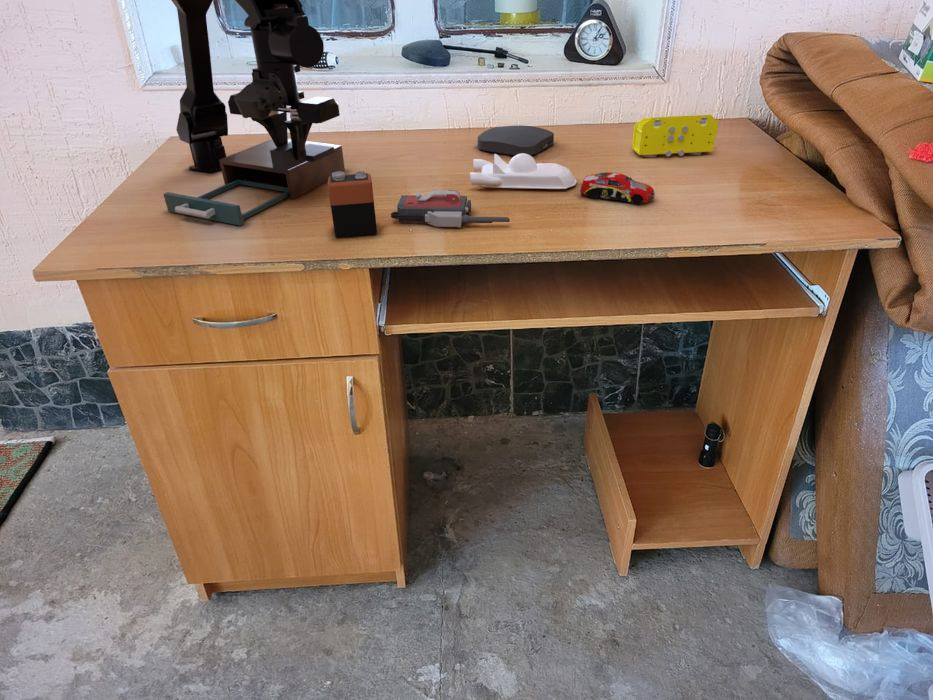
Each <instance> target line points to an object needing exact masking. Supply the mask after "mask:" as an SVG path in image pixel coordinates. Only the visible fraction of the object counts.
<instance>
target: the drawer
mask: <svg viewBox="0 0 933 700" xmlns="http://www.w3.org/2000/svg"><path fill="white" fill-rule="evenodd" d="M238 185H242V186H248V187H254V188H260V189H266V190H273V191H277V192H283V193H281V194H279V195H277V196H275V197H273V198H271V199H269V200H267V201H265V202H263V203H261V204H259V205H257V206H255V207H253V208H251V209H250V210H248V211H245V212H243V213H242V210H241V205H240V204H237V203H236V204H234V203H230V202H226V201H225V202H223V201H219V200H213V199H209V198H213V197H214V196H217V195H219V194H221V193H223V192H225V191H228V190H230V189H232V188H234V187H236V186H238ZM163 198H164V201H165V205H166V208H167V211H168V212H170V213H175V214H180V215H184V216H189V217H193V218H200V219H204V220H209V221H215V222H220V223H224V224H229V225H235V226H241V225H243V224H244V223H245V222H244V220H246V219H249V218H250V217H252V216H254V215H256V214H258V213H259V212H261V211H263V210H266V209H267V208H269V207H272V206H273V205H275V204H277V203H279V202H281V201H283V200H285V199H287V198H290V195H289V189H288V186H283V185H277V184H270V183H264V182H258V181H252V180H248V179H247V180H240V179H238V180H235V181H233V182H231V183H229V184H226V185H225V184H224V185H222V186H219V187H217V188H215V189H213V190H211V191H208V192H206V193H204V194H202V195H199V196H197V197H196V196H192V195H185V194H181V193H175V192H169V191H167V192H164V193H163Z"/></svg>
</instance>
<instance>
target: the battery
mask: <svg viewBox="0 0 933 700" xmlns="http://www.w3.org/2000/svg"><path fill="white" fill-rule="evenodd" d="M345 173H346V171H345V172H339V171H338V172H334V173H332V176H329V177H328V181H327V189H328V199H329V204H330V211H331V217H332V225H333V231H334V237H335V238H336V239H346V238H356V237H357V238H358V237H369V236H376V235H377V234H378V228H377V227H378V226H377V216H376V209H375V208H376V207H375V199H374V190H373V181H372V180H373V179H372V175H371V174H370V173H368V172H366V171H363V170H361V171H360V170H359V171H356V172H355V173H353V174H352V173H351V174H345Z"/></svg>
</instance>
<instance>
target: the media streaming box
mask: <svg viewBox="0 0 933 700" xmlns="http://www.w3.org/2000/svg"><path fill="white" fill-rule="evenodd" d="M554 139H555V133H554V132H553V131H550V130H549V129H545V128H542V127H539V126H538V127H537V126H534V125H533V126H532V125H521V124H519V125H504V126H495V127H491V128H488V129H486V130H484V131H483V132H481V133H480V134H479V135H478V136H477V148H478V149H479V150H481V151H486V152H490V153H491V152H492V153H496V154H504V155H511V156H515V155H517V154H521V153H525V154H528V155H530V156H533V155H536V154H538V153H540V152H542V151H544V150H545V149H547V148H549V147H551V146H552V145H553V144H554V143H555V140H554Z"/></svg>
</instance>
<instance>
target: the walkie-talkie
mask: <svg viewBox="0 0 933 700" xmlns="http://www.w3.org/2000/svg"><path fill="white" fill-rule="evenodd" d="M396 208H397V211H393V212H392V211H391V213H390V218H391V219H393V220H397V221H398V222H399V223H402V224H428V225H431V226H434V227H437V228H462V225H469V224H492V223H510V217H508V216H470V215H468V214H467V213H471V212H472V200H471V199H468V195H461V194H460V191H458V190H455V189H449V190H446V189H434V190H433V191H431V192H430V193H428V194H422V192H421V191H417V193H416V194H401V196H400V198H399V200H398V202H397V205H396Z"/></svg>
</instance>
